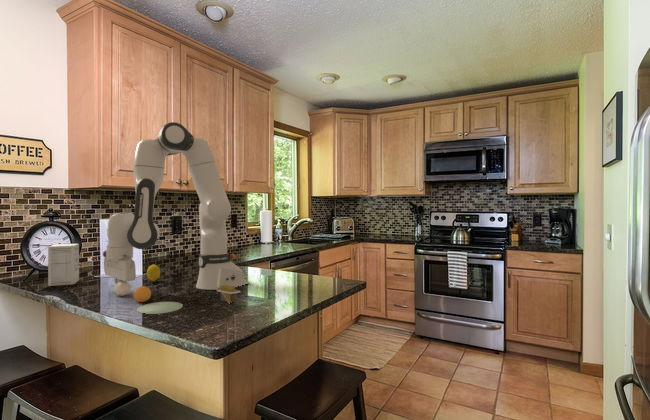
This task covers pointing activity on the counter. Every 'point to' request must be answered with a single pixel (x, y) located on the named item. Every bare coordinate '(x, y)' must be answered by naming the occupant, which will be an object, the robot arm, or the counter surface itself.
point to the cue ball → (122, 288)
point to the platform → (228, 293)
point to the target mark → (159, 307)
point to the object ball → (142, 294)
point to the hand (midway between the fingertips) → (119, 289)
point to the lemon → (153, 272)
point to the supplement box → (63, 264)
